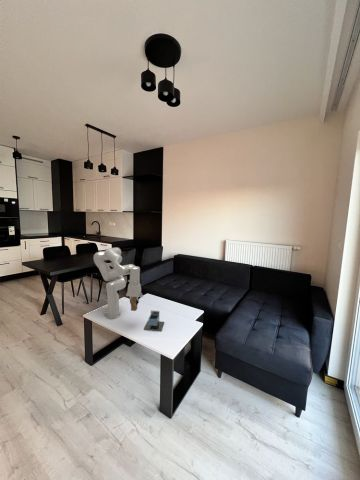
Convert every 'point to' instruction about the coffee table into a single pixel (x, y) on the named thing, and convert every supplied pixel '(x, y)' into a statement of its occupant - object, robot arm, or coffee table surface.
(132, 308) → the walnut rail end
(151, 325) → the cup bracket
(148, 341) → the coffee table surface
